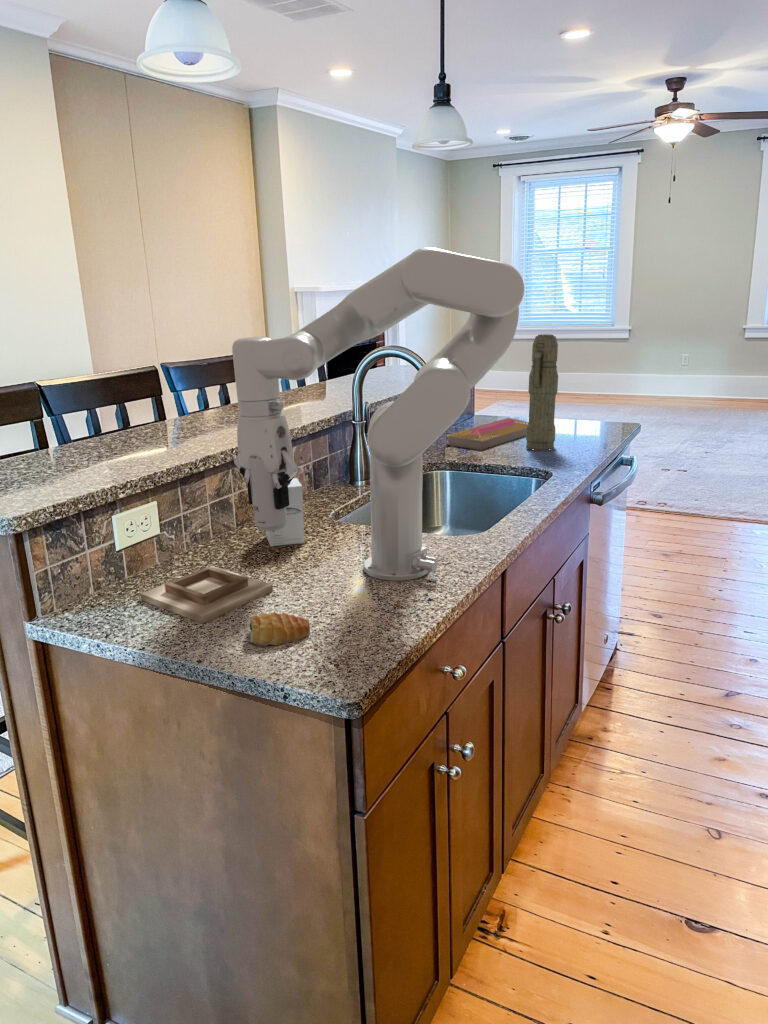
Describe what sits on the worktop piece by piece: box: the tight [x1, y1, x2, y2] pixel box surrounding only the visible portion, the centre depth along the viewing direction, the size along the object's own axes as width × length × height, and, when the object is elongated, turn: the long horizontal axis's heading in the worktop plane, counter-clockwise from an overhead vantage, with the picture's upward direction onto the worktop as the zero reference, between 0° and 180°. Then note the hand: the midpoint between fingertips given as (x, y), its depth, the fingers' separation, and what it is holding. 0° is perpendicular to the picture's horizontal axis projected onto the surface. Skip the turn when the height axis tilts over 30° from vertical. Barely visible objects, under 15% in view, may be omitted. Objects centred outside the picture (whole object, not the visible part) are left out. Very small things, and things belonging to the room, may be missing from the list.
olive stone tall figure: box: [525, 333, 559, 451], centre depth 236 cm, size 9×12×35 cm
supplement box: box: [265, 477, 306, 548], centre depth 159 cm, size 7×7×13 cm
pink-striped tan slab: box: [445, 417, 529, 451], centre depth 254 cm, size 35×14×6 cm, turn 140°
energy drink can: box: [248, 454, 287, 532], centre depth 140 cm, size 6×6×15 cm
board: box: [139, 565, 274, 624], centre depth 133 cm, size 16×16×3 cm
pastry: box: [249, 611, 311, 647], centre depth 118 cm, size 9×7×4 cm
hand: (269, 504), depth 141 cm, fingers closed on energy drink can, 6 cm apart
